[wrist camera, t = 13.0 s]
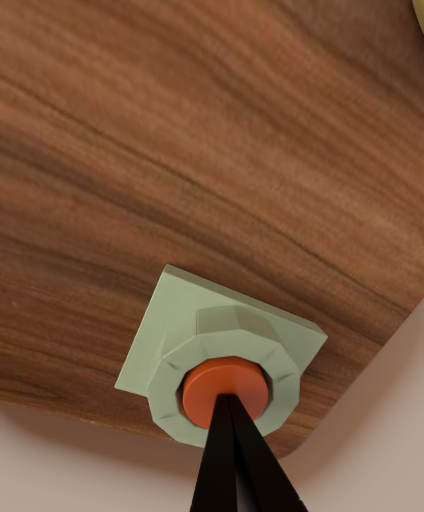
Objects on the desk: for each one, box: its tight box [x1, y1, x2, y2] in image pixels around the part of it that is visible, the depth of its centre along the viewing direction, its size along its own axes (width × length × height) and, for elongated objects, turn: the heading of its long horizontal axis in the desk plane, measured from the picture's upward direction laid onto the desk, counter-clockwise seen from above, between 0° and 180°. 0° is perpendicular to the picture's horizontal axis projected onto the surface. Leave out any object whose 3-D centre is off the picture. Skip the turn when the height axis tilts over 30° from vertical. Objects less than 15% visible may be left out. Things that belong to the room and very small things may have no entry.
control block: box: [115, 264, 328, 448], centre depth 10 cm, size 9×7×3 cm
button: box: [183, 355, 268, 429], centre depth 9 cm, size 4×4×2 cm
